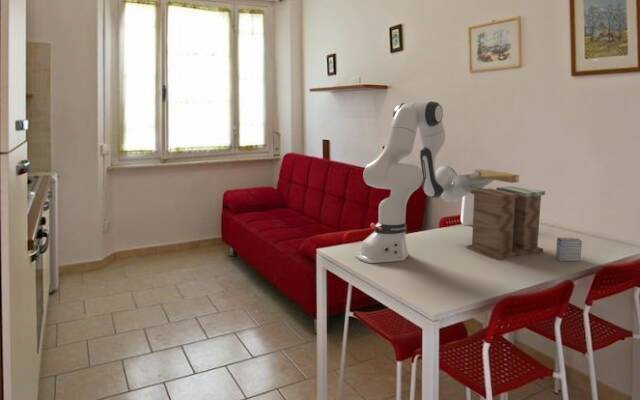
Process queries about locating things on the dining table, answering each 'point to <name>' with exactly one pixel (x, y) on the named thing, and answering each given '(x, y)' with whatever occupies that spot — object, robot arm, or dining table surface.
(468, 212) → the milk
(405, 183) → the robot arm
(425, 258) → the dining table surface
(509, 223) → the twin stand
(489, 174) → the oak bar
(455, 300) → the dining table surface
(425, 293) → the dining table surface
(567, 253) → the medicine box
